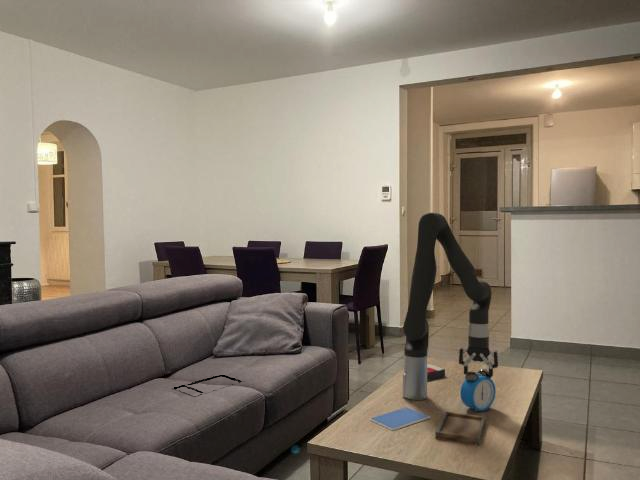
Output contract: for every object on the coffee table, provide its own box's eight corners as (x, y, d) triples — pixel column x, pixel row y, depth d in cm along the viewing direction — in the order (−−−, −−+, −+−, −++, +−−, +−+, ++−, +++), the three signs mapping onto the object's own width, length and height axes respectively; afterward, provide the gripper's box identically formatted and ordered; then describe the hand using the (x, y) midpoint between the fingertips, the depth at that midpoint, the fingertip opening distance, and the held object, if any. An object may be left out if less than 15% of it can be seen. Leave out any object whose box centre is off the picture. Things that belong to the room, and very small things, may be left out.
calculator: (404, 368, 246) (428, 362, 253) (404, 377, 246) (428, 371, 254) (420, 374, 236) (445, 367, 244) (421, 384, 237) (445, 377, 244)
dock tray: (435, 438, 177) (435, 431, 176) (445, 417, 195) (445, 411, 195) (479, 445, 171) (479, 438, 171) (485, 423, 190) (485, 416, 190)
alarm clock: (471, 415, 197) (472, 375, 197) (459, 410, 203) (459, 371, 202) (495, 408, 204) (496, 369, 203) (483, 403, 209) (483, 366, 209)
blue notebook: (392, 432, 183) (392, 429, 183) (368, 421, 193) (368, 417, 193) (431, 420, 194) (431, 416, 194) (406, 409, 204) (406, 406, 204)
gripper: (499, 333, 203) (498, 376, 203) (460, 330, 208) (460, 372, 209) (497, 338, 196) (497, 381, 197) (457, 334, 201) (457, 377, 202)
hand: (478, 376), depth 203 cm, fingers closed on alarm clock, 8 cm apart
